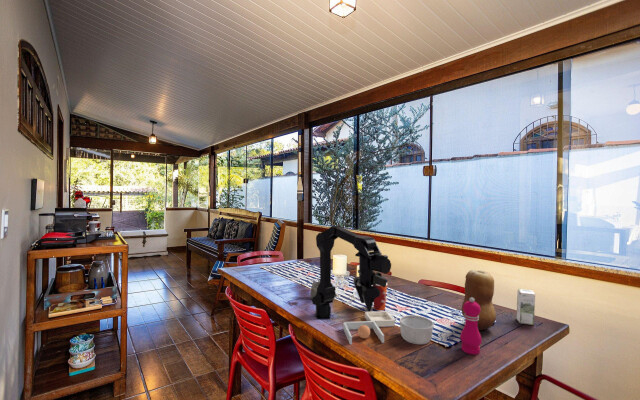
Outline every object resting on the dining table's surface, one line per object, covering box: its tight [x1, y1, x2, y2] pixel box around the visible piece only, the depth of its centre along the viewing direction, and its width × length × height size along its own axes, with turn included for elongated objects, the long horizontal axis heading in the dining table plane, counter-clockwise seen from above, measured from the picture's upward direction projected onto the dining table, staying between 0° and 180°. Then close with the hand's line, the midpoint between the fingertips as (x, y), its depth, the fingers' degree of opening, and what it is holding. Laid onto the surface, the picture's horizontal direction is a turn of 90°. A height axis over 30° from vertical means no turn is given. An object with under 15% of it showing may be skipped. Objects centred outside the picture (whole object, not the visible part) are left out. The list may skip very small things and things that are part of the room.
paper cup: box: [373, 282, 388, 311], centre depth 160 cm, size 8×8×14 cm
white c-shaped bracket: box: [342, 320, 385, 345], centre depth 130 cm, size 14×14×3 cm
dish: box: [364, 310, 396, 328], centre depth 144 cm, size 11×11×3 cm
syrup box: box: [516, 288, 536, 326], centre depth 145 cm, size 6×6×14 cm
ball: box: [357, 325, 371, 339], centre depth 128 cm, size 5×5×5 cm
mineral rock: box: [309, 280, 338, 300], centre depth 173 cm, size 13×11×10 cm
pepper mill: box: [459, 297, 483, 355], centre depth 118 cm, size 7×7×20 cm
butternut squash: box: [461, 269, 497, 331], centre depth 138 cm, size 14×13×25 cm
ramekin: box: [399, 314, 435, 345], centre depth 128 cm, size 13×13×7 cm
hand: (365, 306), depth 128 cm, fingers open, 9 cm apart
